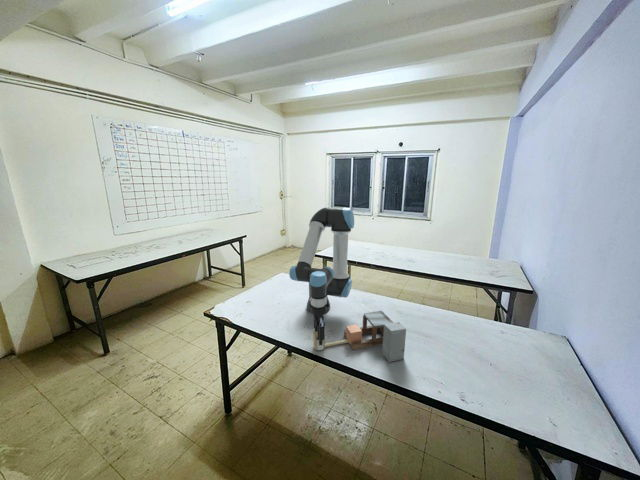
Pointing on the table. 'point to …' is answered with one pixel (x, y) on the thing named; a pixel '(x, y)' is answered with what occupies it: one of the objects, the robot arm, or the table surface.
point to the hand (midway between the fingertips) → (319, 346)
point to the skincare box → (394, 341)
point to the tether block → (351, 336)
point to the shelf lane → (372, 329)
